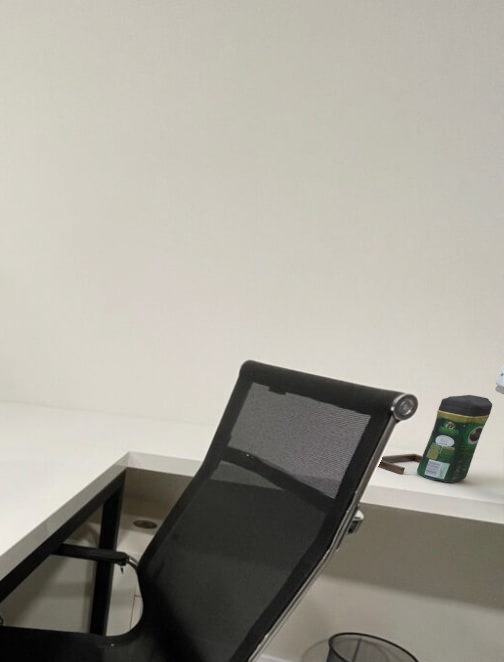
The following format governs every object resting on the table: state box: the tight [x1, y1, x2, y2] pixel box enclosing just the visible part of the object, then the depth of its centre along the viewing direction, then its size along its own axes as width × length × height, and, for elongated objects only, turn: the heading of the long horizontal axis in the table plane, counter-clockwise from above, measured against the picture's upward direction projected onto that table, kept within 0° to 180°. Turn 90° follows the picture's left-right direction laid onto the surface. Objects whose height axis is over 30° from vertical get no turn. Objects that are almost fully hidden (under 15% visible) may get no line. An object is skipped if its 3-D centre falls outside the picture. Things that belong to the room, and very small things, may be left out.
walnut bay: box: [378, 453, 422, 475], centre depth 131 cm, size 8×16×2 cm, turn 111°
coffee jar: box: [416, 394, 493, 483], centre depth 121 cm, size 10×8×19 cm
